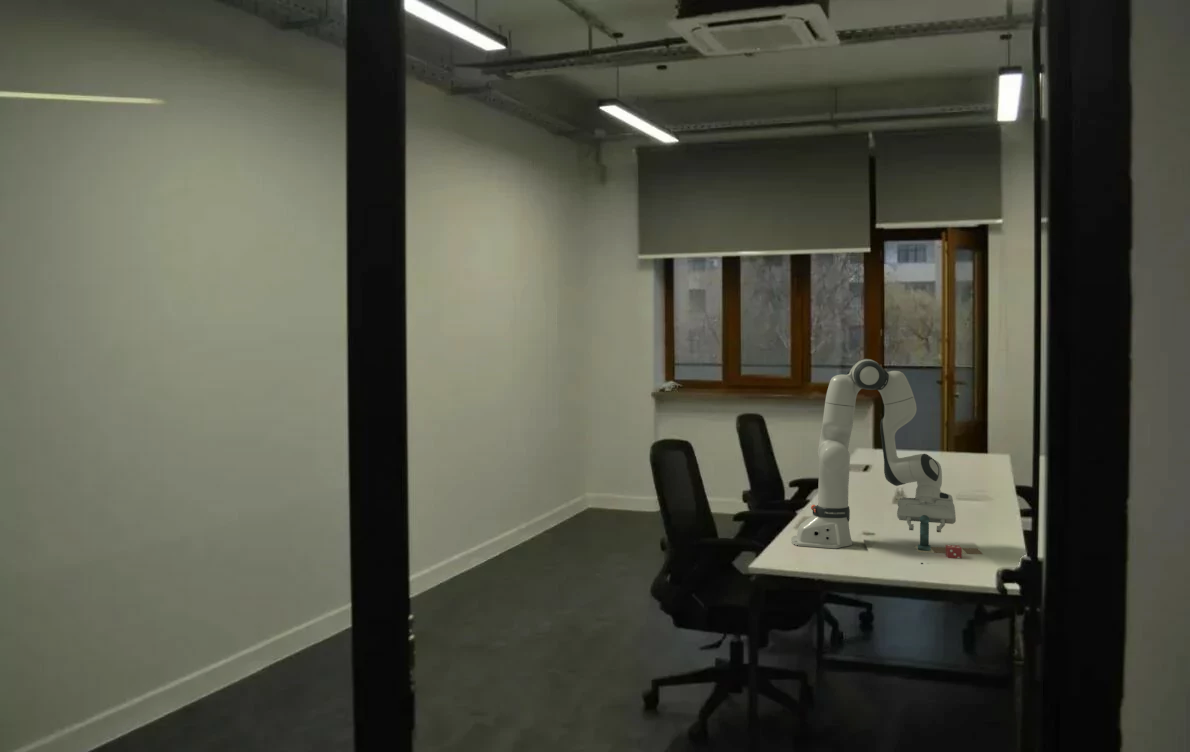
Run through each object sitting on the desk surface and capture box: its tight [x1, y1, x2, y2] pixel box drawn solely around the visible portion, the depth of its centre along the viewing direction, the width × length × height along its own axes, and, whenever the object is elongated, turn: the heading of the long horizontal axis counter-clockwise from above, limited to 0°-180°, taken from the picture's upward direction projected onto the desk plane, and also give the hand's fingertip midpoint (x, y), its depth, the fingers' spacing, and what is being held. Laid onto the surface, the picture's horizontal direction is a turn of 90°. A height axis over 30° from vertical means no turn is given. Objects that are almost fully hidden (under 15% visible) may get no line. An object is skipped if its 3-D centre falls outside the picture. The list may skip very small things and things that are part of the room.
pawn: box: [917, 515, 932, 551], centre depth 346 cm, size 4×4×12 cm
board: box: [914, 545, 984, 555], centre depth 345 cm, size 23×10×1 cm, turn 80°
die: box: [945, 544, 963, 559], centre depth 335 cm, size 4×5×5 cm
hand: (924, 530), depth 346 cm, fingers open, 8 cm apart
